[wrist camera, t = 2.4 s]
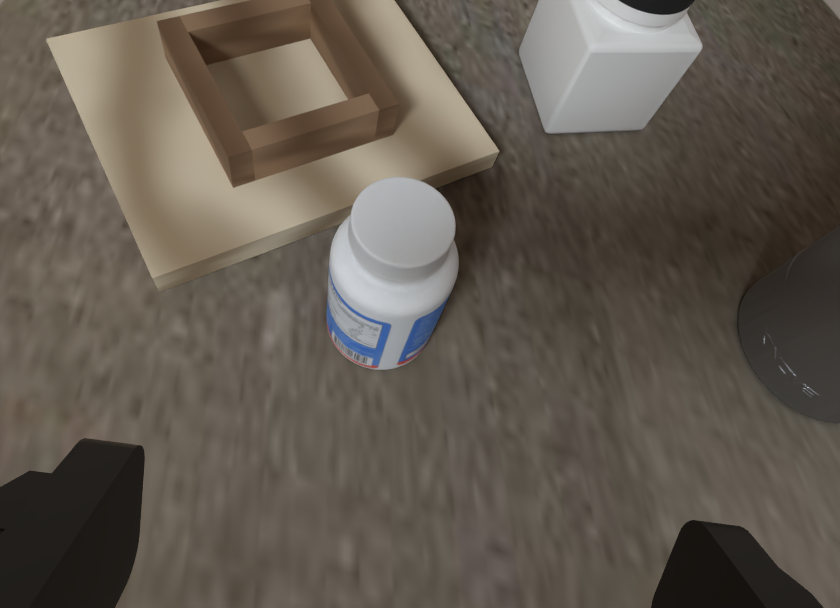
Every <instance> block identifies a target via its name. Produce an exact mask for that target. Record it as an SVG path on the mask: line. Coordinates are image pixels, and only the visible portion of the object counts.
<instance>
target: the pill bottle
mask: <svg viewBox="0 0 840 608" xmlns="http://www.w3.org/2000/svg"><path fill="white" fill-rule="evenodd" d="M455 229H456V223H455V217H454V214H453V211H452V209H451V207H450V205H449V203H448V202H447V200H446V199H445V198H444V196H443V195H442V194H441V193H440V192H438V191H437V190H436V189H435V188H433V187H432V186H430V185H428V184H426V183H424V182H422V181H420V180H417V179H413V178H407V177H391V178H385V179H381V180H378V181H376V182H374V183H372V184H371V185H369V186H368V187H366V188H365V189H364V190H363V191H362V192H361V193H360V194H359V196H358V197H357V198H356V200H355V202H354V204H353V207H352V210H351V215H349V216H348V217H347V218H346V219H345V220H344V222H343V223H342V224H341V225H340V227H339V228H338V230H337V232H336V234H335V236H334V239H333V241H332V245H331V251H330V260H329V279H328V300H327V327H328V332H329V335H330V337H331V339H332V341H333V343H334V345H335V346H336V348H337V349H338V350H339V351H340V352H341V353H342V354H343V355H344V356H345V357H346V358H348V359H349V360H350V361H352V362H354V363H356V364H358V365H360V366H363V367H366V368H370V369H377V370H386V369H393V368H397V367H400V366H402V365H405V364H407V363H408V362H410V361H411V360H413V359H414V358H415V357H416V356H418V355H419V354H420V352H421V351H422V350H423V349H424V347H425V346H426V344H427V342H428V340H429V339H430V337H431V334H432V332H433V330H434V328H435V326H436V324H437V322H438V320H439V317H440V315H441V313H442V311H443V309H444V307H445V304H446V302H447V300H448V298H449V296H450V294H451V291H452V289H453V287H454V284H455V281H456V278H457V275H458V269H459V258H458V251H457V247H456V244H455V241H454V236H455Z"/></svg>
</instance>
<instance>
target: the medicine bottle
mask: <svg viewBox="0 0 840 608" xmlns="http://www.w3.org/2000/svg"><path fill="white" fill-rule="evenodd" d="M693 2H694V0H539V1H538V4H537V6H536V9H535V11H534V14H533V16H532V19H531V21H530V24H529V26H528V29H527V31H526V34H525V36H524V38H523V41H522V43H521V46H520V48H519V56H520V59H521V62H522V65H523V68H524V71H525V74H526V77H527V80H528V83H529V86H530V89H531V92H532V95H533V98H534V101H535V104H536V107H537V110H538V113H539V116H540V119H541V122H542V125H543V128H544V130H545V132H546V133H549V134H555V133H581V132H607V131H633V130H642V129H643V128H644V127H645V126H646V125H647V123H648V122H649V121H650V119H651V118H652V117H653V115H654V114H655V112H656V111H657V110H658V108H659V107H660V106H661V104H662V103H663V102H664V100H665V99H666V98H667V96H668V95H669V93H670V92H671V91H672V89H673V88H674V87H675V85H676V84H677V83H678V81H679V80H680V79H681V77H682V76H683V75H684V73H685V72H686V70H687V69H688V68H689V66H690V65H691V64H692V62H693V61H694V60H695V58H696V57H697V56H698V54H699V53H700V51H701V50H702V47H703V46H702V43H701V41H700V39H699V37H698V34H697V32H696V30H695V28H694V26H693V24H692V22H691V20H690V18H689V16H688V14H687V11H688V9H689V8H690V6H691V5H692V3H693Z"/></svg>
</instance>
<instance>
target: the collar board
mask: <svg viewBox="0 0 840 608" xmlns="http://www.w3.org/2000/svg"><path fill="white" fill-rule="evenodd" d="M46 40H47V43H48V45H49V47H50V49H51V52H52V54H53V56H54V58H55V61H56V63H57V65H58V67H59V70H60V72H61V74H62V76H63V79H64V81H65V83H66V85H67V88H68V90H69V92H70V94H71V97H72V99H73V101H74V103H75V106H76V108H77V110H78V112H79V115H80V117H81V119H82V121H83V124H84V126H85V128H86V130H87V133H88V135H89V137H90V139H91V142H92V144H93V146H94V148H95V150H96V153H97V155H98V157H99V159H100V162H101V164H102V166H103V168H104V171H105V173H106V175H107V177H108V180H109V182H110V184H111V186H112V189H113V191H114V193H115V195H116V198H117V200H118V202H119V204H120V207H121V209H122V211H123V213H124V216H125V218H126V220H127V222H128V225H129V227H130V229H131V231H132V234H133V236H134V238H135V240H136V243H137V245H138V247H139V249H140V252H141V254H142V256H143V258H144V261H145V263H146V265H147V267H148V270H149V272H150V274H151V276H152V278H153V281H154V283H155V285H156V287H157V289H158V292H161V291H164V290H166V289H169V288H172V287H174V286H177V285H180V284H182V283H185V282H188V281H190V280H193V279H196V278H198V277H201V276H204V275H206V274H209V273H212V272H214V271H217V270H219V269H222V268H225V267H227V266H230V265H233V264H235V263H238V262H241V261H243V260H246V259H249V258H251V257H254V256H257V255H259V254H262V253H265V252H267V251H270V250H273V249H275V248H278V247H281V246H283V245H286V244H289V243H291V242H294V241H297V240H299V239H302V238H305V237H307V236H310V235H313V234H315V233H318V232H321V231H323V230H326V229H329V228H331V227H334V226H337V225H339V224H342V223H343V222H344V220H345V219H346V218H347V217H348V216H349V215H351V210H352V207H353V204H354V202H355V200H356V198H357V197H358V196H359V194H360V193H361V192H362V191H363V190H364V189H365V188H366V187H368V186H369V185H371V184H372V183H374V182H376V181H378V180H381V179H385V178H391V177H407V178H413V179H417V180H420V181H422V182H424V183H426V184H428V185H430V186H432V187H433V188H438V187H440V186H443V185H446V184H448V183H451V182H454V181H456V180H459V179H462V178H464V177H467V176H470V175H472V174H475V173H478V172H480V171H483V170H486V169H488V168H491V167H493V164H494V162H495V160H496V158H497V156H498V153H499V150H498V148H497V147H496V145H495V144H494V142H493V141H492V140H491V138H490V137H489V135H488V134H487V132H486V131H485V130H484V128H483V127H482V125H481V124H480V122H479V121H478V119H477V118H476V117H475V115H474V114H473V112H472V111H471V109H470V108H469V107H468V105H467V104H466V102H465V101H464V99H463V98H462V96H461V95H460V94H459V92H458V91H457V89H456V88H455V86H454V85H453V84H452V82H451V81H450V79H449V78H448V76H447V75H446V74H445V72H444V71H443V69H442V68H441V66H440V65H439V63H438V62H437V61H436V59H435V58H434V56H433V55H432V53H431V52H430V51H429V49H428V48H427V46H426V45H425V43H424V42H423V41H422V39H421V38H420V36H419V35H418V33H417V32H416V30H415V29H414V28H413V26H412V25H411V23H410V22H409V20H408V19H407V18H406V16H405V15H404V13H403V12H402V10H401V9H400V8H399V6H398V5H397V3H396V2H395V0H220V1H216V2H211V3H207V4H202V5H198V6H193V7H189V8H184V9H180V10H175V11H170V12H166V13H161V14H157V15H152V16H148V17H143V18H139V19H134V20H130V21H125V22H121V23H116V24H112V25H107V26H103V27H98V28H93V29H89V30H84V31H80V32H75V33H71V34H66V35H62V36H57V37H53V38H48V39H46Z"/></svg>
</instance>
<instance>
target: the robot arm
mask: <svg viewBox="0 0 840 608" xmlns="http://www.w3.org/2000/svg"><path fill="white" fill-rule="evenodd" d="M738 330H739V335H740V339H741V344H742V347H743V349H744V352H745V354H746V356H747V359H748V361H749V363H750V365H751V366H752V368H753V369H754V371H755V373H756V374H757V376H758V377H759V379H760V380H761V381H762V382H763V383H764V384H765V385H766V387H767V388H768V389H769V390H770V391H771V392H772V393H773V394H774V395H775V396H777V397H778V398H779V399H780V400H781V401H783V402H784V403H785V404H786V405H788V406H790V407H791V408H793V409H795V410H796V411H798V412H800V413H801V414H804V415H806V416H809V417H811V418H814V419H817V420H820V421H826V422H833V423H840V225H839V226H837V227H836V228H835V229H833V230H832V231H830V232H829V233H827V234H826V235H824V236H823V237H821V238H820V239H818V240H817V241H816V242H814V243H813V244H811V245H810V246H808V247H807V248H805V249H803V250H802V251H800V252H799V253H797V254H796V255H795V256H793V257H792V258H790V259H789V260H787V261H786V262H784V263H783V264H781V265H780V266H779V267H777V268H776V269H774V270H773V271H771V272H770V273H768V274H767V275H765V276H764V277H763V278H761V279H760V280H758V281H757V282H755V283H754V284H753V285H752V286H751V287H750V288H749V289H748V290H747V292H746V294H745V296H744V298H743V299H742V301H741V305H740V310H739V314H738ZM144 460H145V456H144V449H143V447H142V446H140V445H133V444H125V443H117V442H110V441H102V440H95V439H87V438H84V439H82V440H80V441H79V442H78V443H77V444H76V445H75V446H74V448H73V449H72V450H71V451H70V452H69V454H68V455H67V456H66V457H65V458H64V460H63V461H62V462H61V463H60V464H59V466H58V467H57V468H56V469H55V470H54V471H53V473H44V472H36V471H28V472H27V473H25V474H23V475H21V476H19V477H18V478H16V479H14V480H12V481H11V482H9V483H7V484H5V485H3V486H2V487H0V608H115V606H116V604H117V602H118V600H119V598H120V596H121V594H122V592H123V590H124V588H125V586H126V584H127V582H128V579H129V577H130V574H131V571H132V568H133V565H134V561H135V557H136V553H137V548H138V542H139V533H140V519H141V505H142V490H143V476H144ZM651 608H823V607H822V605H821V604H820V603H819V602H818V601H817V600H816V598H815V597H814V596H813V595H812V594H811V593H810V592H809V591H808V590H806V589H805V588H804V587H803V586H801V585H800V584H799V583H798V582H796V581H795V580H794V579H792V578H791V577H790V576H789V575H787V574H786V573H785V572H784V571H782V570H781V569H780V568H779V567H778V566H777V565H776V564H775V563H774V561H773V560H772V559H771V558H770V557H769V555H768V554H767V553H766V552H765V551H764V549H763V548H762V547H761V546H760V545H759V543H758V542H757V541H756V540H755V539H754V537H753V536H752V535H751V534H750V533H749V532H748V531H747V530H746V529H744V528H743V527H740V526H734V525H726V524H719V523H711V522H704V521H696V520H692V521H689V522H687V523H686V524H685V525H684V526H683V527H682V528H681V530H680V532H679V535H678V537H677V540H676V542H675V545H674V547H673V550H672V552H671V555H670V557H669V560H668V562H667V565H666V567H665V570H664V572H663V575H662V577H661V580H660V582H659V584H658V587H657V589H656V592H655V594H654V597H653V601H652V606H651Z"/></svg>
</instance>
